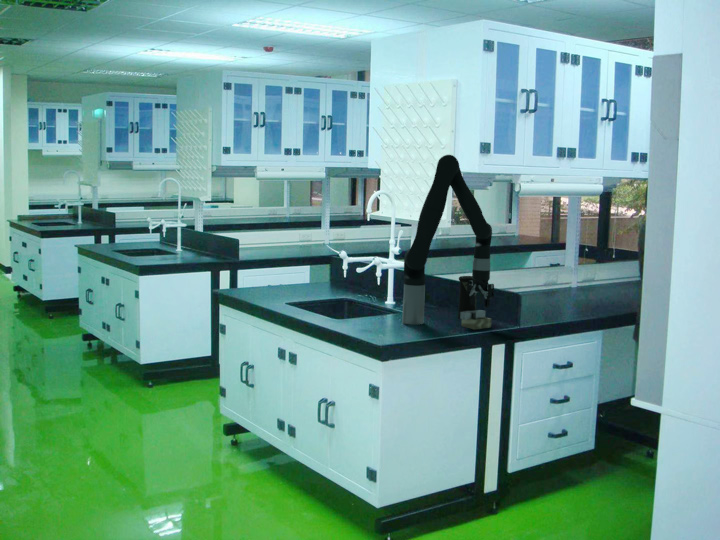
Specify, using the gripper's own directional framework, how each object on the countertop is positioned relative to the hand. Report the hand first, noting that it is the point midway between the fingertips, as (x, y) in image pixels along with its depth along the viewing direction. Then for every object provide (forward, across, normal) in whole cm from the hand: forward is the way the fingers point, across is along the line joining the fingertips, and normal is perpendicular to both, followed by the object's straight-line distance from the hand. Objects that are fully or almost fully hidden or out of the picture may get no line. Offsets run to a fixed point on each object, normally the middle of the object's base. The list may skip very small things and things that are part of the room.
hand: (479, 306), depth 327 cm
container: (+9, +16, -9) cm, 21 cm away
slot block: (+9, 0, +2) cm, 9 cm away
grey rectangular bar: (+4, 0, -2) cm, 4 cm away
